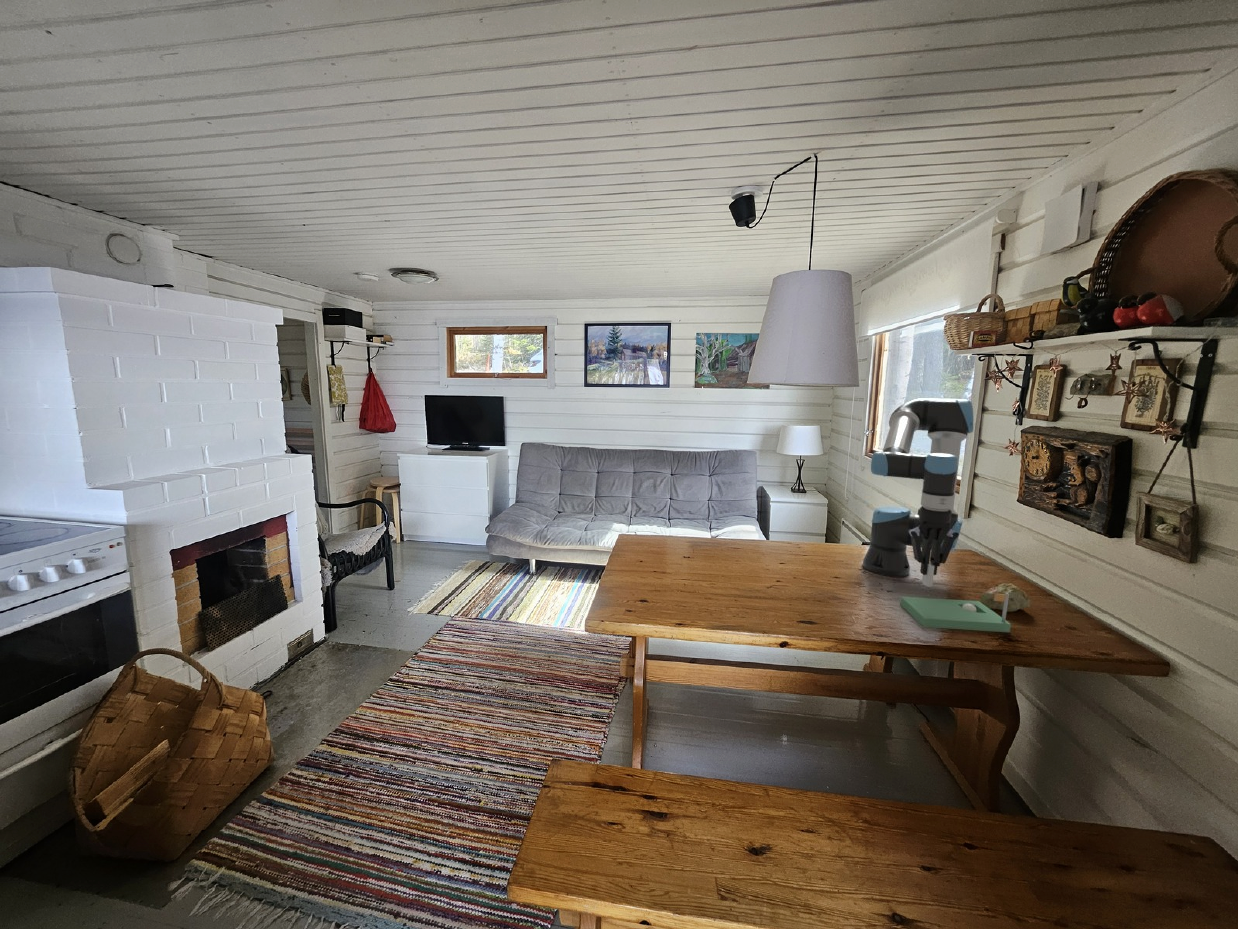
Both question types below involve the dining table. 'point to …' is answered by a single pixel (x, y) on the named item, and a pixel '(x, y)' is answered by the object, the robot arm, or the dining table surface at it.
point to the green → (957, 614)
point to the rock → (1015, 600)
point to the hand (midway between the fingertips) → (926, 584)
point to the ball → (969, 608)
